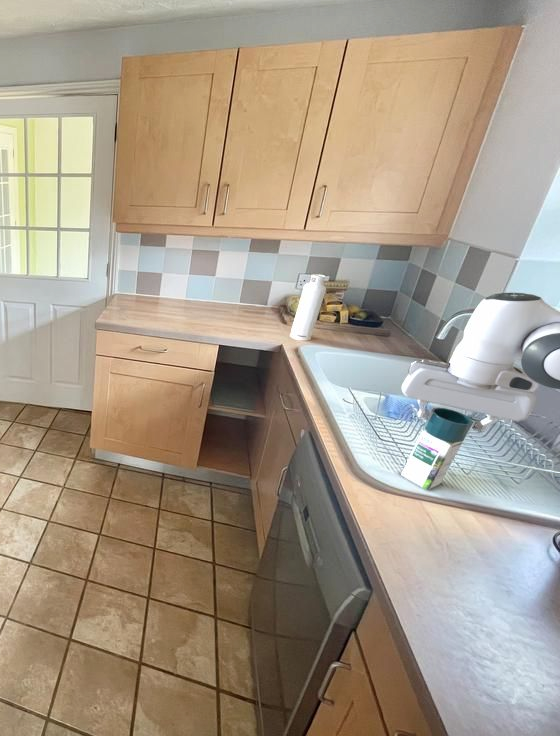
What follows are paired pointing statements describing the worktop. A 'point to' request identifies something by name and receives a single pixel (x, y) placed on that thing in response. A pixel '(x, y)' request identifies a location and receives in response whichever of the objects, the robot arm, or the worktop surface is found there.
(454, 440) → the bowl
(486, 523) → the worktop surface
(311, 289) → the bottle
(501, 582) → the worktop surface
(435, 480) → the syrup box
